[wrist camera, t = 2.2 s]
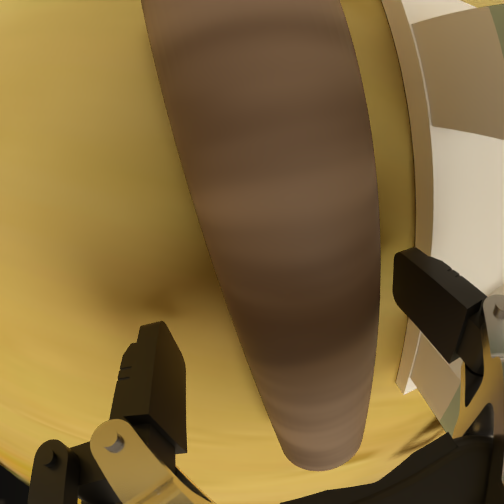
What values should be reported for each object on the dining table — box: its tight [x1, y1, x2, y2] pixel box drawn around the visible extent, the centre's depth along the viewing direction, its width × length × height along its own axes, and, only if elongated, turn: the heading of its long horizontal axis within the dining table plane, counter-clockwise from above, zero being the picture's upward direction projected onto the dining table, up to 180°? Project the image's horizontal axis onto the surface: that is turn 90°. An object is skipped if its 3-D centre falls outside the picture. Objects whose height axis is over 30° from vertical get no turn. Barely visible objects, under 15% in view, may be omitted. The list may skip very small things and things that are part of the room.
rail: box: [141, 0, 381, 471], centre depth 9 cm, size 20×5×5 cm, turn 13°
